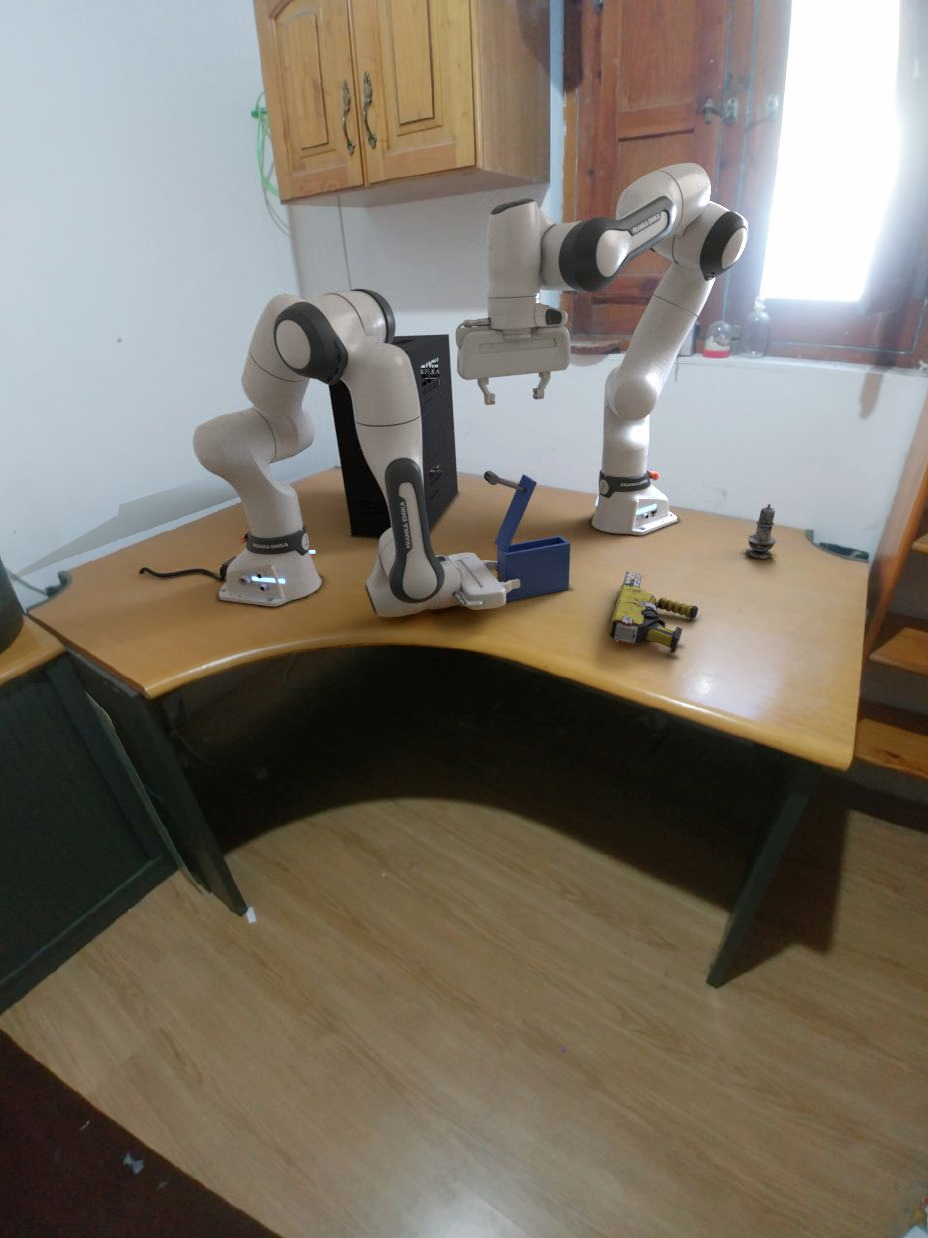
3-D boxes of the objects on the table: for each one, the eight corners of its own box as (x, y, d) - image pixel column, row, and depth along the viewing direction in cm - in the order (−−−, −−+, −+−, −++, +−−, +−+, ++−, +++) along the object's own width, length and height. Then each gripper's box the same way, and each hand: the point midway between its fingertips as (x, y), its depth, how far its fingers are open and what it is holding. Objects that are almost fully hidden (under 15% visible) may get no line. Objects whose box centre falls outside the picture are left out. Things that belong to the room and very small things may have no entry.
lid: (527, 475, 119) (487, 461, 115) (537, 482, 115) (495, 467, 111) (498, 544, 124) (459, 532, 120) (507, 552, 120) (466, 541, 116)
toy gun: (700, 582, 122) (625, 568, 126) (700, 638, 102) (611, 620, 106) (695, 602, 124) (621, 588, 128) (693, 661, 104) (606, 643, 108)
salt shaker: (775, 559, 136) (787, 508, 130) (747, 558, 137) (757, 508, 131) (769, 548, 141) (780, 499, 135) (742, 548, 142) (752, 499, 136)
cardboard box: (424, 538, 157) (407, 351, 135) (351, 535, 162) (323, 353, 139) (457, 492, 189) (448, 334, 166) (396, 490, 193) (379, 336, 171)
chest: (559, 580, 133) (560, 535, 127) (568, 589, 129) (570, 543, 124) (497, 592, 129) (496, 546, 124) (505, 602, 125) (504, 555, 120)
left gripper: (461, 593, 112) (530, 580, 115) (432, 552, 129) (493, 541, 132) (463, 622, 115) (530, 608, 118) (435, 578, 132) (494, 568, 135)
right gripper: (460, 321, 97) (464, 410, 103) (576, 312, 101) (573, 398, 108) (449, 319, 102) (454, 404, 109) (560, 310, 107) (557, 393, 114)
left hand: (510, 573), depth 125 cm, fingers open, 8 cm apart
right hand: (514, 401), depth 109 cm, fingers open, 8 cm apart
